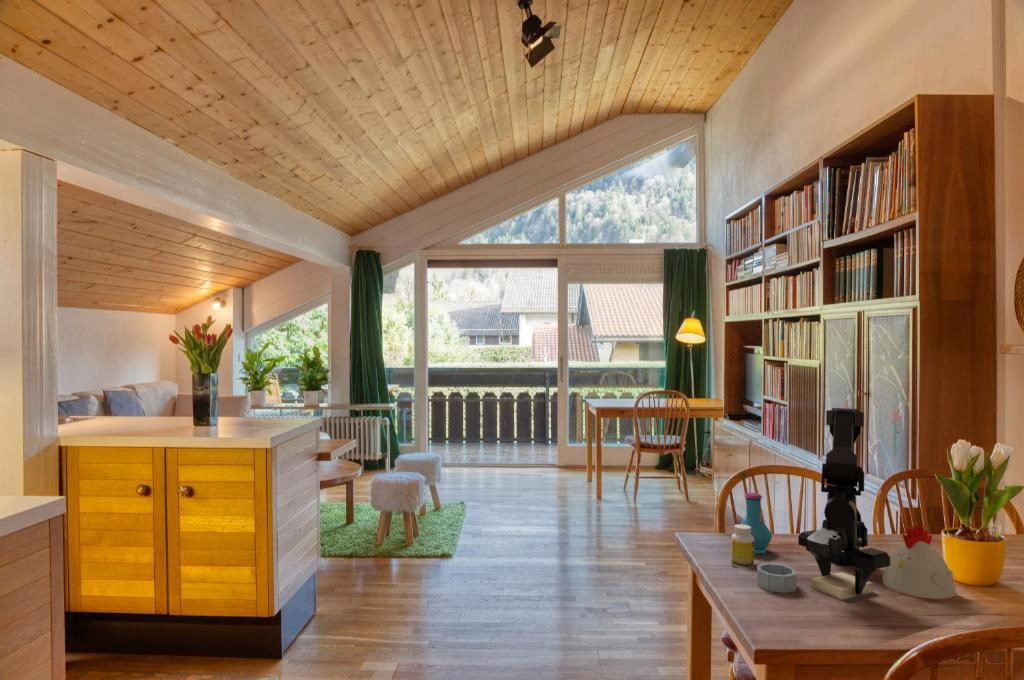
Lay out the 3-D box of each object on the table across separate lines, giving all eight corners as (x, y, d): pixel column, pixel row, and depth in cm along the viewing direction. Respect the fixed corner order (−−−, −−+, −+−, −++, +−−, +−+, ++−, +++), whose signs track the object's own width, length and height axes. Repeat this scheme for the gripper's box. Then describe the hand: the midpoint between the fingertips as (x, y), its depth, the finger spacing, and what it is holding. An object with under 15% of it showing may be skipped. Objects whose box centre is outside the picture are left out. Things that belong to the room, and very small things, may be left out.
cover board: (842, 580, 145) (842, 571, 145) (872, 592, 138) (873, 582, 138) (811, 587, 140) (811, 578, 140) (841, 599, 133) (841, 590, 133)
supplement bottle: (755, 570, 155) (755, 530, 155) (732, 568, 156) (732, 528, 157) (752, 562, 161) (752, 524, 161) (729, 561, 162) (729, 522, 162)
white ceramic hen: (868, 587, 145) (867, 521, 145) (910, 579, 150) (910, 515, 150) (926, 610, 132) (926, 538, 132) (971, 601, 137) (971, 531, 137)
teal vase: (768, 557, 165) (768, 499, 165) (731, 551, 169) (731, 495, 170) (774, 548, 172) (774, 492, 173) (739, 542, 177) (739, 488, 177)
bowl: (775, 583, 147) (775, 561, 147) (804, 595, 140) (803, 572, 140) (749, 588, 143) (749, 566, 144) (777, 601, 136) (777, 578, 136)
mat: (837, 585, 146) (837, 578, 146) (878, 601, 137) (878, 594, 137) (806, 592, 141) (806, 585, 141) (847, 609, 132) (847, 602, 132)
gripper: (780, 510, 144) (781, 579, 144) (855, 532, 127) (856, 610, 127) (815, 505, 149) (815, 571, 149) (891, 525, 132) (892, 600, 132)
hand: (841, 587), depth 139 cm, fingers closed on cover board, 7 cm apart
